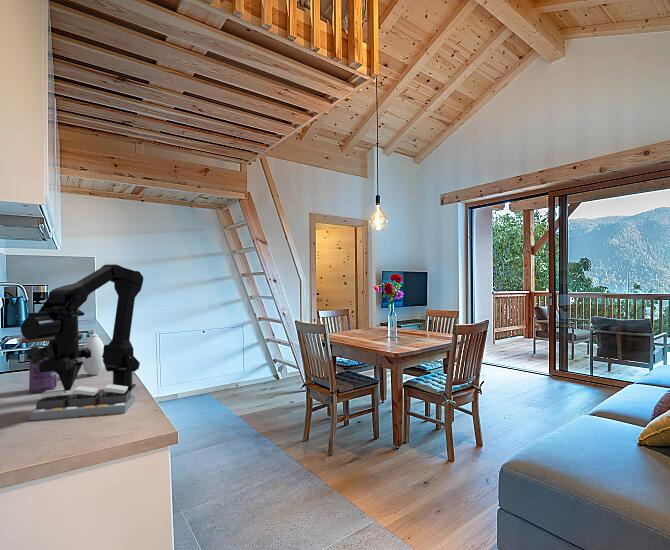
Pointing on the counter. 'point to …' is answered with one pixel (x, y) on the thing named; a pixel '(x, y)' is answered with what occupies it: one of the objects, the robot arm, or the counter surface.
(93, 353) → the sauce bottle
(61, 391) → the left rocker
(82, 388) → the middle rocker
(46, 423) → the counter surface
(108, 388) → the right rocker
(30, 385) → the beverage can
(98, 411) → the switch panel
